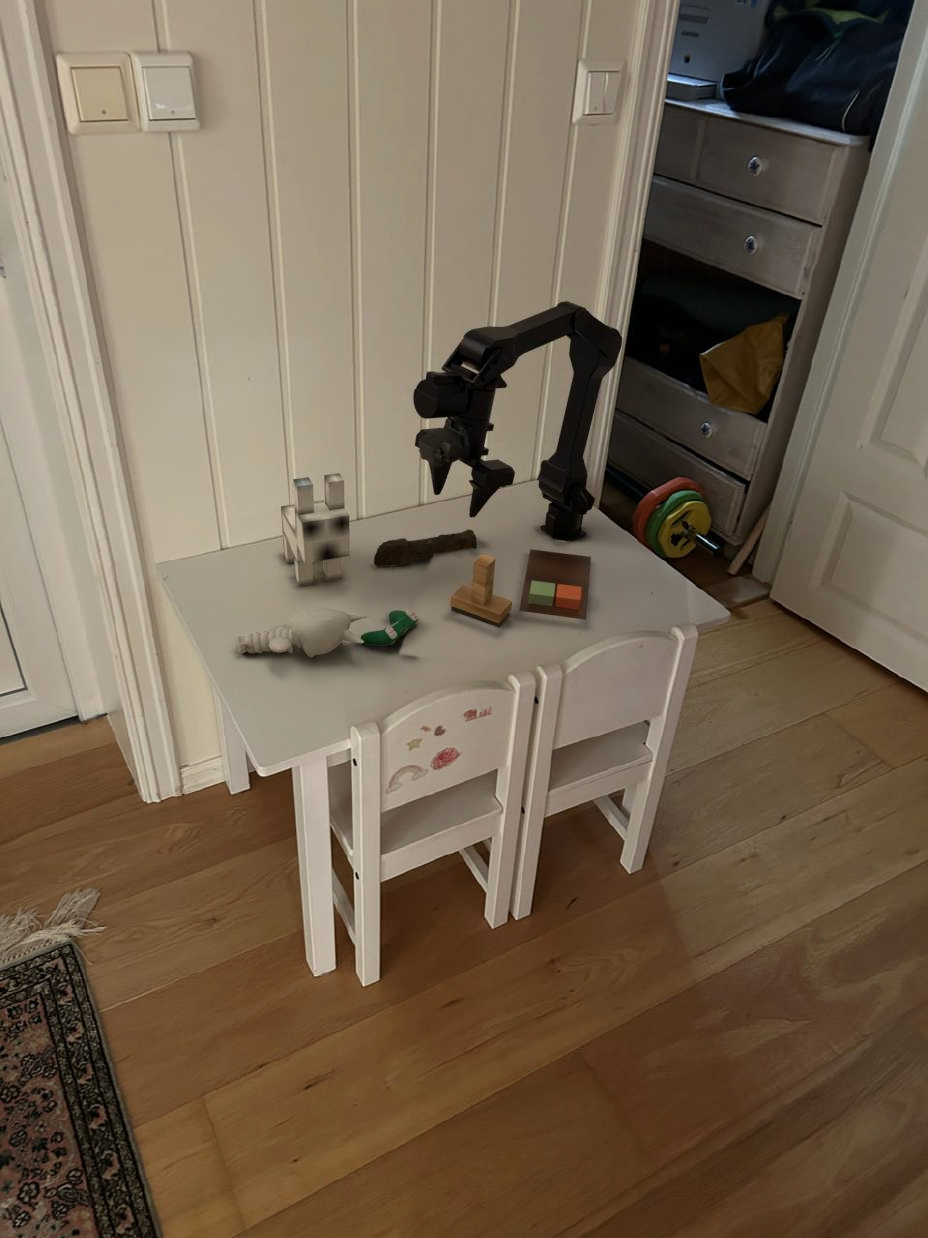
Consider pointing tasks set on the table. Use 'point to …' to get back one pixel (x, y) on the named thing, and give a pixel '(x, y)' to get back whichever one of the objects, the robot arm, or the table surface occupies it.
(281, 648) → the toy creature
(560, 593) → the clay terracotta
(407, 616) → the green stocking
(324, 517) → the white blocky toy rabbit
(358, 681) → the table surface
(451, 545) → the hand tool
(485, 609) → the brush
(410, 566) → the table surface
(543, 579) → the board
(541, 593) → the clay sage
